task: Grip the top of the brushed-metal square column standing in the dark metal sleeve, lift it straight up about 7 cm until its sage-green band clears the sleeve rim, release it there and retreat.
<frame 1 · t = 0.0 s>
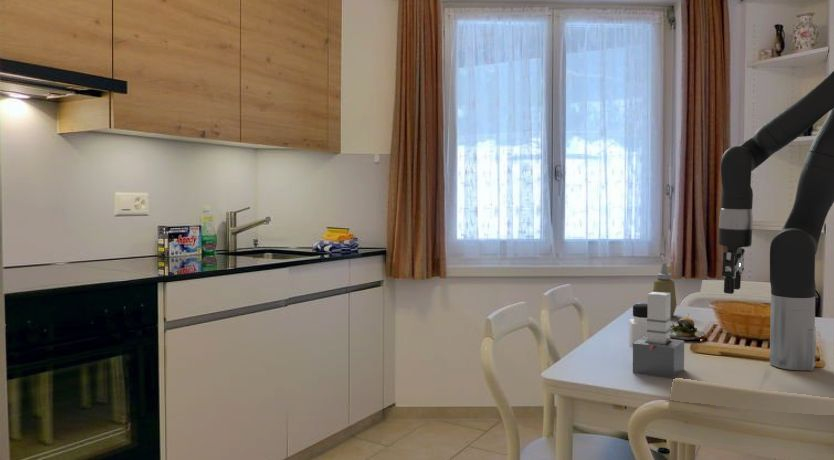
hand: (732, 291, 162), 17 cm above the table, tool pointing down, fingers open, 8 cm apart
burger: (683, 339, 187), on the table
sleeve: (658, 376, 149), on the table
column: (658, 332, 148), point 10 cm above the table, slide at 0.0 cm
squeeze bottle: (663, 316, 220), on the table
medicine bottle: (644, 348, 176), on the table
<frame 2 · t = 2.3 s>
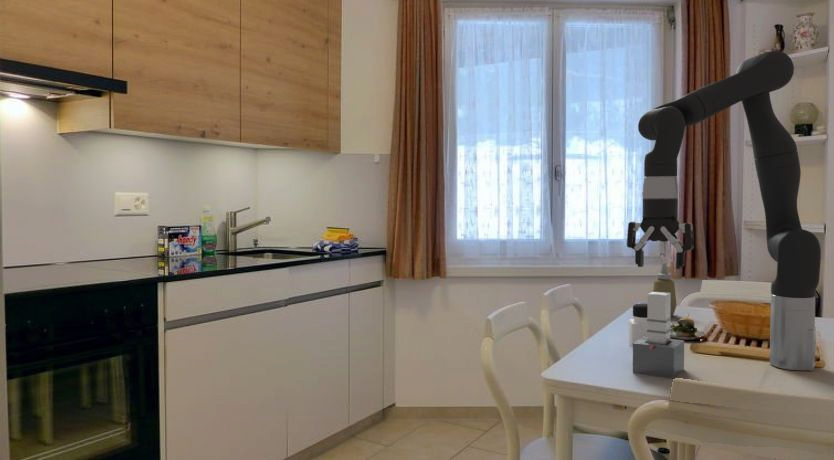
hand: (659, 267, 147), 25 cm above the table, tool pointing down, fingers open, 8 cm apart
nothing on the table moved.
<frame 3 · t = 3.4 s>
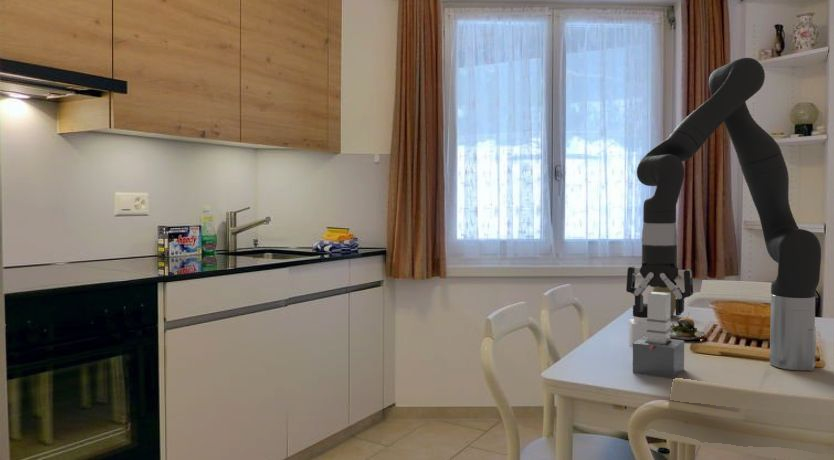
hand: (658, 313, 148), 15 cm above the table, tool pointing down, fingers open, 8 cm apart
nothing on the table moved.
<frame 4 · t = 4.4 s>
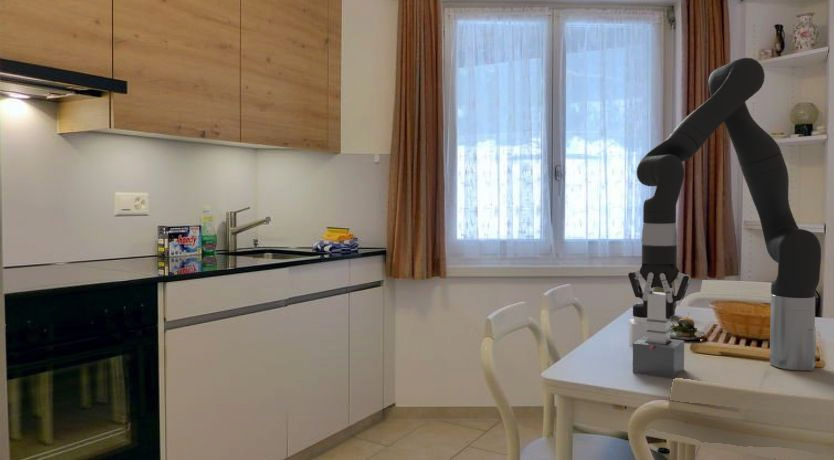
hand: (658, 317, 148), 14 cm above the table, tool pointing down, fingers closed on column, 4 cm apart
column: (658, 332, 148), point 10 cm above the table, slide at 0.0 cm, touching gripper
everything else where it was.
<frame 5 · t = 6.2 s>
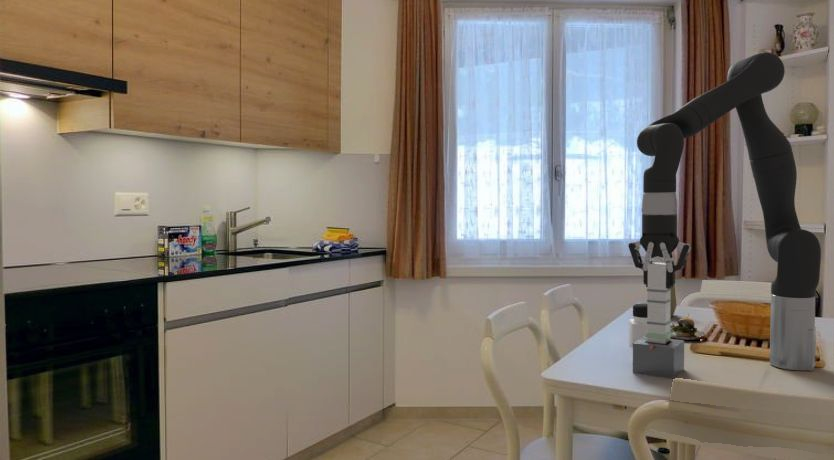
hand: (659, 287, 147), 21 cm above the table, tool pointing down, fingers closed on column, 4 cm apart
column: (659, 302, 148), point 17 cm above the table, slide at 6.9 cm, touching gripper
everything else where it was.
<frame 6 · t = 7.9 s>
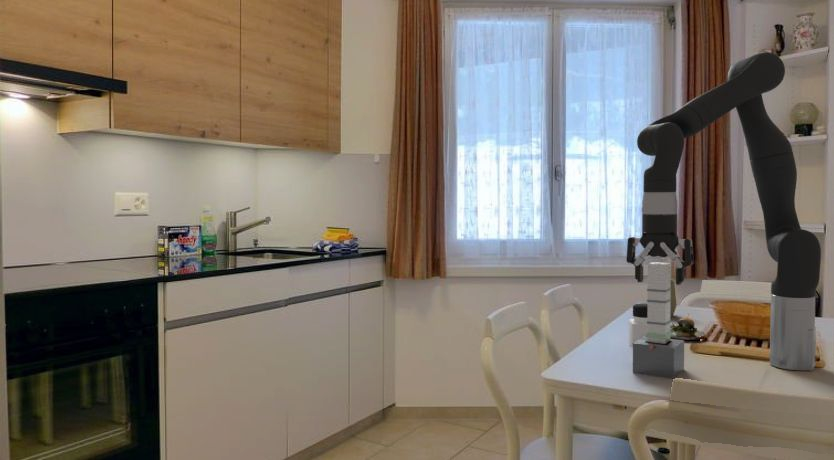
hand: (659, 283, 147), 22 cm above the table, tool pointing down, fingers open, 8 cm apart
column: (659, 302, 148), point 17 cm above the table, slide at 6.9 cm
everything else where it was.
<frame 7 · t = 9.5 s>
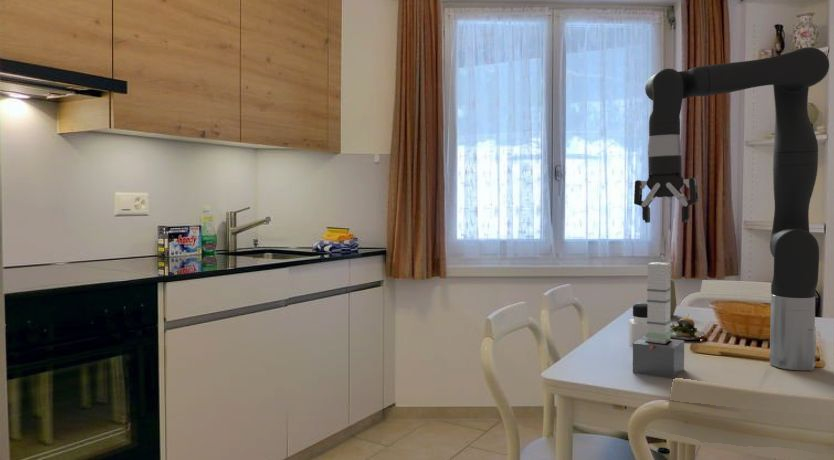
hand: (665, 222, 155), 35 cm above the table, tool pointing down, fingers open, 8 cm apart
nothing on the table moved.
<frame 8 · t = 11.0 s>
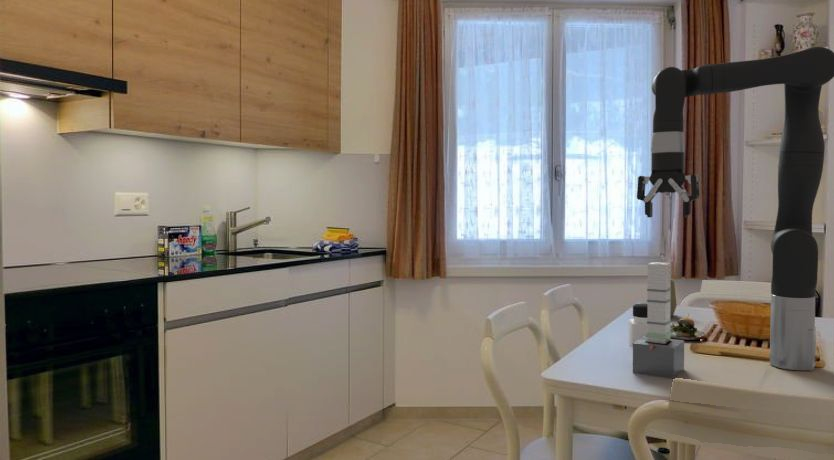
hand: (667, 217, 159), 36 cm above the table, tool pointing down, fingers open, 8 cm apart
nothing on the table moved.
at the end: column slide at 6.9 cm; the gripper is holding nothing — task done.
